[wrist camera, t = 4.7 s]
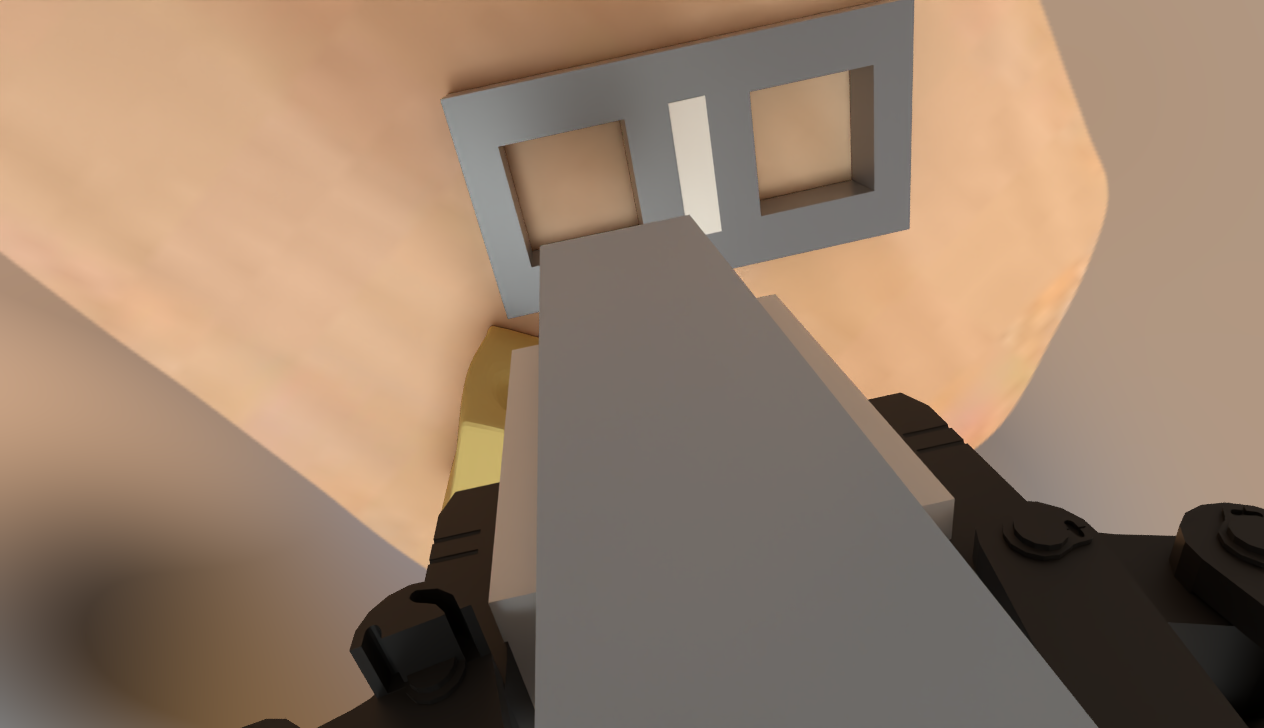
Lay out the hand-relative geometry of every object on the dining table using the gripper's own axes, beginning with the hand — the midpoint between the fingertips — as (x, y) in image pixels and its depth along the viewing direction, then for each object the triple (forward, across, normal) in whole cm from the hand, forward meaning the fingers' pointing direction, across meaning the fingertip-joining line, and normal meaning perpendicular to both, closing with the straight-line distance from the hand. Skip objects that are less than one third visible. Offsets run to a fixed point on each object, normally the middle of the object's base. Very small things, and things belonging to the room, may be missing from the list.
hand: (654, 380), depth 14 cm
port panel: (+20, +5, 0) cm, 20 cm away
